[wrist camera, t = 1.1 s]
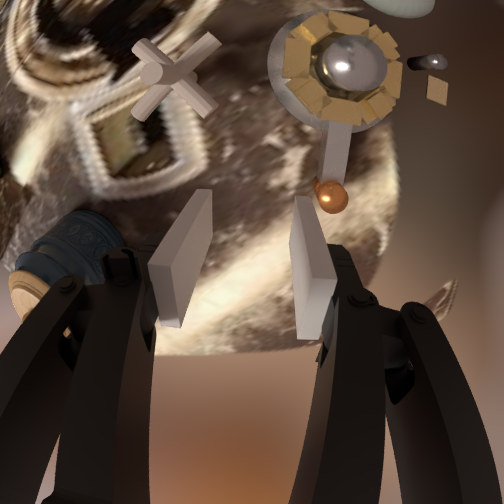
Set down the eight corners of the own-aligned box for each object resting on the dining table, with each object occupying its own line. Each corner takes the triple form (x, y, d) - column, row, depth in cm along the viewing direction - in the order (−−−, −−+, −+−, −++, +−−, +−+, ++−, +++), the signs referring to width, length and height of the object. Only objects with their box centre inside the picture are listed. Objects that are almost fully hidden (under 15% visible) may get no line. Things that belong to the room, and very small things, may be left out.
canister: (72, 190, 31) (-17, 261, 16) (142, 241, 35) (77, 340, 20) (55, 251, 37) (-7, 323, 22) (114, 294, 41) (66, 380, 26)
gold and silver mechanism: (271, 4, 19) (271, -25, 12) (448, 51, 18) (490, 49, 12) (263, 124, 26) (261, 134, 20) (436, 155, 26) (475, 177, 19)
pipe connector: (192, 20, 20) (158, -8, 12) (257, 78, 24) (250, 69, 15) (129, 84, 24) (76, 87, 16) (187, 140, 28) (152, 163, 19)
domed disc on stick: (286, 13, 18) (289, -1, 15) (392, 35, 18) (411, 28, 14) (272, 191, 29) (273, 208, 25) (369, 202, 29) (383, 220, 25)
